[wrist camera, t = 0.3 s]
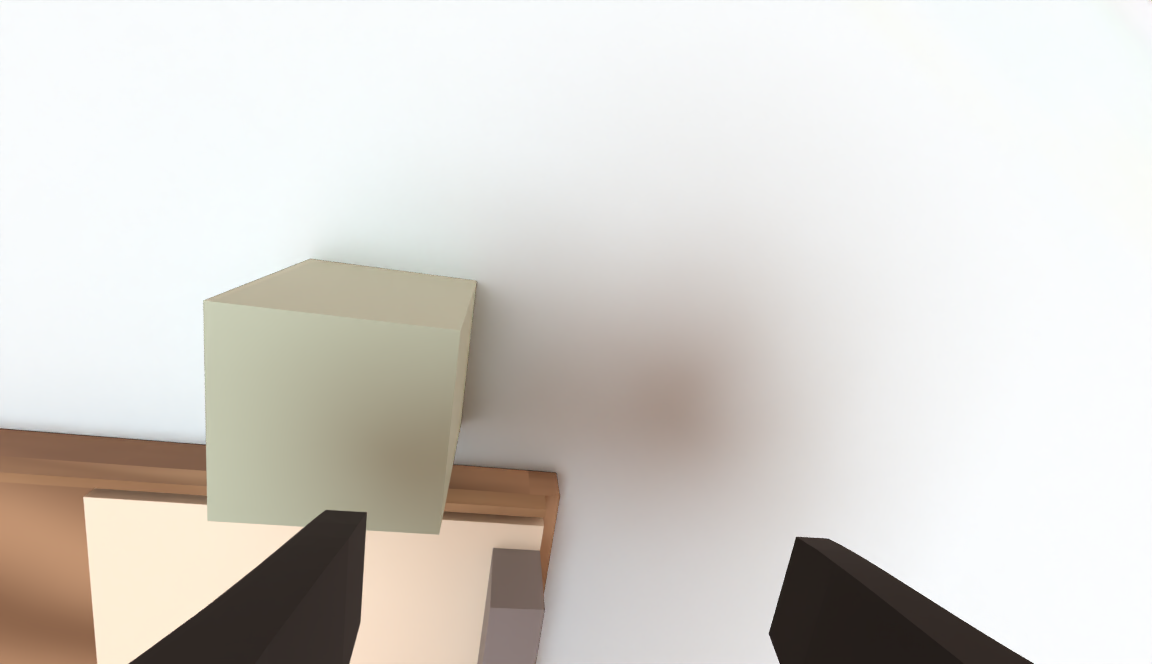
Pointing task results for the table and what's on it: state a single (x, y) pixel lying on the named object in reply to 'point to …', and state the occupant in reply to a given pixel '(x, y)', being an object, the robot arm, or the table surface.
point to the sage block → (335, 395)
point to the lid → (390, 580)
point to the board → (82, 463)
